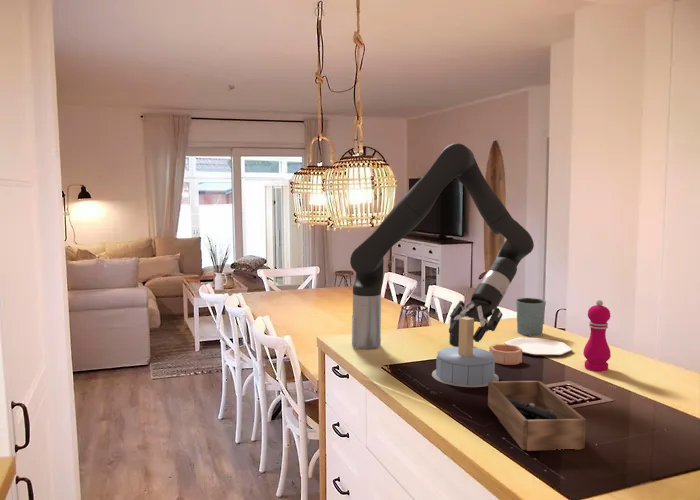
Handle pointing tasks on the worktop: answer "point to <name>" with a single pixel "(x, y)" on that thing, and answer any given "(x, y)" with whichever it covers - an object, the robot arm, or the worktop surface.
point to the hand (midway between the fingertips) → (462, 337)
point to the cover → (465, 359)
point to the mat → (460, 384)
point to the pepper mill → (597, 339)
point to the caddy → (540, 431)
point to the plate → (540, 346)
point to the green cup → (530, 316)
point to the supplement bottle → (454, 339)
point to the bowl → (506, 354)
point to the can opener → (532, 410)
